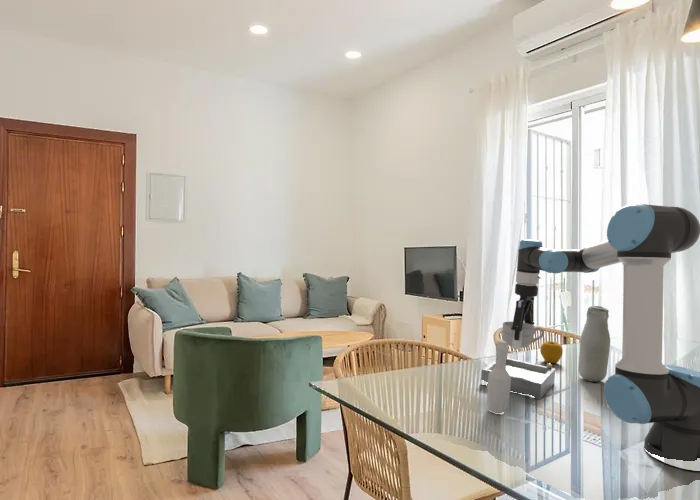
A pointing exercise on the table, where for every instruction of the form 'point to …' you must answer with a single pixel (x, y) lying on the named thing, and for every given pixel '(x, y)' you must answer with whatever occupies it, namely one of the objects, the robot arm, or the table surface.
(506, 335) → the teacup
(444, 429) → the table surface
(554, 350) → the apple
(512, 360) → the grey serving tray
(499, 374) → the low poly bottle
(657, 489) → the table surface
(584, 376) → the grey bottle
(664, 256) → the robot arm
